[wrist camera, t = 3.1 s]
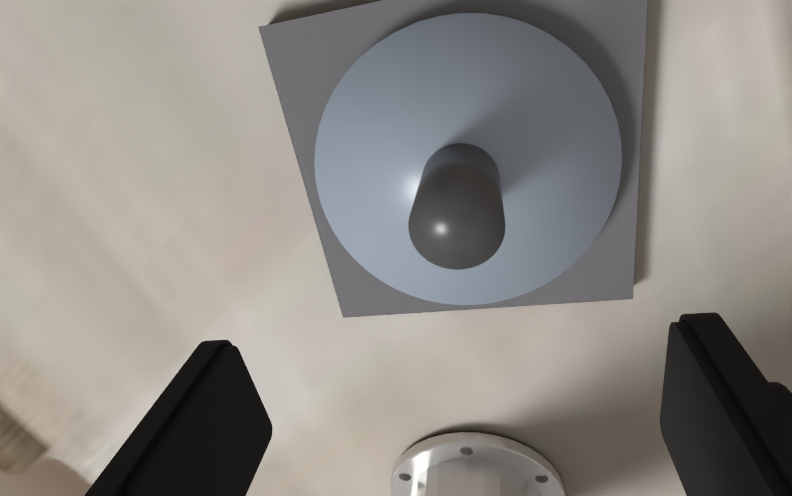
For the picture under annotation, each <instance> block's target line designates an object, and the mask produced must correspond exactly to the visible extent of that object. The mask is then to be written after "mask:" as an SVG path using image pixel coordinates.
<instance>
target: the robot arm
mask: <svg viewBox="0 0 792 496" xmlns="http://www.w3.org/2000/svg"><path fill="white" fill-rule="evenodd" d="M660 426H661V431H662V435H663V438H664V441H665V443H666V446H667V448H668V450H669V453H670V455H671V458H672V460H673V463H674V465H675V468H676V470H677V473H678V475H679V478H680V480H681V482H682V485H683V487H684V490H685V492H686V495H687V496H792V393H791V392H790V391H789V390H788V389H787V388H786V387H785V386H784V385H782V384H780V383H779V382H768V381H767V380H766V379H765V377H764V376H763V374H762V373H761V372H760V370H759V369H758V368H757V366H756V365H755V363H754V362H753V361H752V359H751V358H750V356H749V355H748V354H747V352H746V351H745V350H744V348H743V347H742V345H741V344H740V343H739V341H738V340H737V338H736V337H735V336H734V334H733V333H732V331H731V330H730V329H729V327H728V326H727V325H726V323H725V322H724V320H723V319H722V318H721V316H720V315H719V314H717V313H697V314H683V315H681V317H680V319H679V322H673V323H671V324H670V327H669V336H668V345H667V355H666V365H665V374H664V384H663V394H662V403H661V413H660ZM271 436H272V424H271V421H270V419H269V417H268V414H267V412H266V410H265V408H264V405H263V403H262V401H261V399H260V396H259V394H258V392H257V390H256V388H255V385H254V383H253V381H252V379H251V376H250V374H249V372H248V370H247V367H246V365H245V363H244V361H243V358H242V356H241V354H240V352H239V350H238V348H237V347H236V346H233V345H232V344H231V342H229V341H228V340H214V341H204V342H201V343H200V344H199V345H198V347H197V348H196V349H195V351H194V352H193V353H192V355H191V356H190V357H189V358H188V360H187V361H186V362H185V364H184V365H183V366H182V368H181V369H180V370H179V372H178V373H177V374H176V376H175V377H174V378H173V380H172V381H171V382H170V384H169V385H168V386H167V387H166V389H165V390H164V391H163V393H162V394H161V395H160V397H159V398H158V399H157V401H156V402H155V403H154V405H153V406H152V407H151V409H150V410H149V411H148V412H147V414H146V415H145V416H144V418H143V419H142V420H141V422H140V423H139V424H138V426H137V427H136V428H135V430H134V431H133V432H132V434H131V435H130V436H129V438H128V439H127V440H126V441H125V443H124V444H123V445H122V447H121V448H120V449H119V451H118V452H117V453H116V455H115V456H114V457H113V459H112V460H111V461H110V463H109V464H108V465H107V467H106V468H105V469H104V470H103V472H102V473H101V474H100V476H99V477H98V478H97V480H96V481H95V482H94V484H93V485H92V486H91V488H90V489H89V490H88V492H87V493H86V494H85V496H246V493H247V491H248V489H249V487H250V484H251V482H252V480H253V478H254V475H255V473H256V471H257V469H258V467H259V464H260V462H261V460H262V458H263V455H264V453H265V451H266V449H267V446H268V444H269V442H270V440H271ZM391 496H565V493H564V487H563V484H562V481H561V478H560V476H559V475H558V473H557V472H556V470H555V469H554V467H553V466H552V465H551V464H550V463H549V462H548V461H547V460H546V459H545V458H544V457H543V456H541V455H540V454H538V453H537V452H535V451H534V450H532V449H531V448H529V447H527V446H525V445H522V444H520V443H518V442H516V441H514V440H511V439H507V438H504V437H500V436H497V435H491V434H485V433H477V432H458V433H449V434H443V435H439V436H435V437H431V438H428V439H426V440H424V441H422V442H419V443H417V444H415V445H414V446H412V447H411V448H410V449H408V450H407V451H405V453H404V454H403V455H402V456H401V457H400V458H399V460H398V461H397V463H396V465H395V467H394V470H393V475H392V480H391Z"/></svg>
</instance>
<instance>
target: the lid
mask: <svg viewBox="0 0 792 496" xmlns="http://www.w3.org/2000/svg"><path fill="white" fill-rule="evenodd" d="M314 166H315V178H316V185H317V190H318V195H319V199H320V202H321V205H322V208H323V211H324V213H325V216H326V218H327V220H328V222H329V224H330V226H331V228H332V230H333V232H334V233H335V235H336V236H337V238H338V239H339V241H340V242H341V244H342V245H343V247H344V248H345V249H346V250H347V251H348V252H349V254H350V255H351V256H352V257H353V258H354V259H355V260H356V261H357V262H358V263H359V264H360V265H361V266H362V267H363V268H364V269H365V270H367V271H368V272H369V273H371V274H372V275H374V276H375V277H376V278H378V279H379V280H380V281H382V282H384V283H386V284H387V285H389V286H391V287H393V288H394V289H397V290H399V291H401V292H404V293H406V294H408V295H411V296H414V297H417V298H420V299H424V300H427V301H432V302H437V303H442V304H453V305H480V304H488V303H495V302H499V301H503V300H508V299H512V298H515V297H517V296H520V295H523V294H526V293H529V292H531V291H533V290H535V289H537V288H539V287H541V286H543V285H545V284H547V283H548V282H550V281H551V280H553V279H554V278H556V277H558V276H559V275H561V274H562V273H563V272H564V271H565V270H567V269H568V268H569V267H570V266H572V265H573V264H574V263H575V262H576V261H577V260H578V259H579V258H580V257H581V256H582V255H583V254H584V253H585V252H586V251H587V250H588V248H589V247H590V246H591V244H592V243H593V242H594V240H595V239H596V237H597V236H598V235H599V233H600V231H601V230H602V228H603V226H604V224H605V222H606V221H607V219H608V217H609V214H610V212H611V209H612V207H613V204H614V202H615V199H616V195H617V191H618V187H619V183H620V176H621V166H622V149H621V137H620V132H619V127H618V122H617V118H616V115H615V113H614V110H613V107H612V105H611V102H610V99H609V97H608V96H607V94H606V92H605V90H604V88H603V87H602V85H601V83H600V81H599V80H598V78H597V77H596V76H595V75H594V73H593V72H592V71H591V69H590V68H589V67H588V66H587V64H586V63H585V62H584V61H583V60H582V59H581V58H580V57H579V56H578V55H577V54H575V53H574V52H573V51H572V50H571V49H570V48H569V47H568V46H566V45H565V44H563V43H562V42H560V41H559V40H558V39H556V38H555V37H553V36H552V35H550V34H549V33H547V32H545V31H543V30H541V29H539V28H537V27H534V26H532V25H530V24H528V23H526V22H523V21H519V20H516V19H513V18H510V17H506V16H501V15H494V14H488V13H455V14H448V15H440V16H436V17H433V18H429V19H426V20H422V21H419V22H416V23H414V24H412V25H409V26H407V27H405V28H403V29H400V30H398V31H396V32H394V33H393V34H391V35H389V36H388V37H386V38H385V39H383V40H381V41H380V42H378V43H377V44H375V45H374V46H373V47H372V48H370V49H369V50H368V51H367V52H366V53H365V54H363V55H362V56H361V57H360V58H359V59H358V60H357V61H356V62H355V63H354V64H353V65H352V67H351V68H350V69H349V70H348V71H347V72H346V73H345V75H344V76H343V77H342V79H341V80H340V82H339V83H338V85H337V86H336V88H335V89H334V91H333V93H332V95H331V97H330V99H329V101H328V103H327V105H326V107H325V109H324V112H323V116H322V119H321V122H320V125H319V128H318V133H317V139H316V144H315V161H314Z"/></svg>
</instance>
